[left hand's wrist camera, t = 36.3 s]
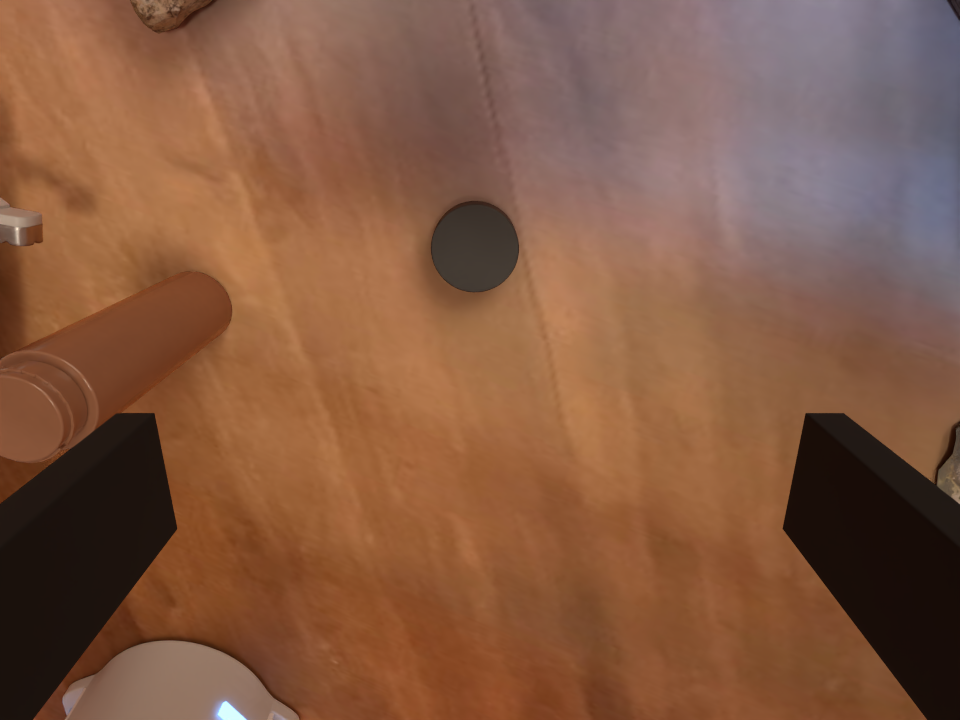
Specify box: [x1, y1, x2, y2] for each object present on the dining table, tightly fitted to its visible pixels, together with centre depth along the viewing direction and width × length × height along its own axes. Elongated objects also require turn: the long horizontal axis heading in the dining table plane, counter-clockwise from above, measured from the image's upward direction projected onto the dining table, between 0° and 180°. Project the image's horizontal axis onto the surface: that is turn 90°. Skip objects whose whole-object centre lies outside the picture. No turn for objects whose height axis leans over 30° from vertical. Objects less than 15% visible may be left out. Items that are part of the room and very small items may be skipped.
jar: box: [0, 271, 232, 463], centre depth 32 cm, size 4×4×17 cm
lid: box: [431, 201, 519, 292], centre depth 38 cm, size 5×5×2 cm
